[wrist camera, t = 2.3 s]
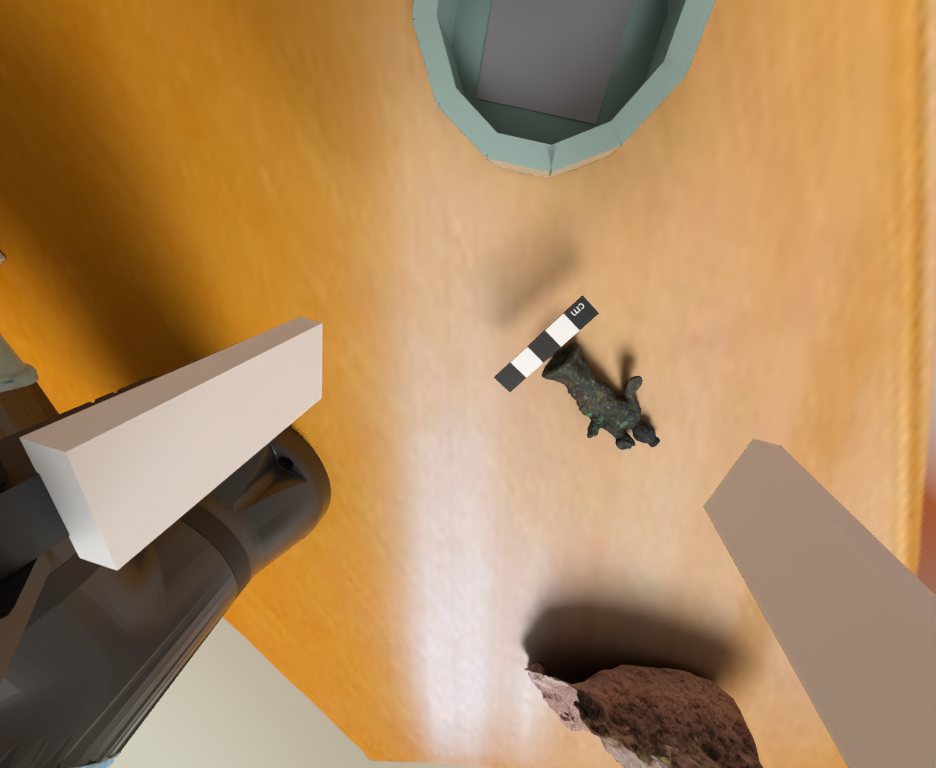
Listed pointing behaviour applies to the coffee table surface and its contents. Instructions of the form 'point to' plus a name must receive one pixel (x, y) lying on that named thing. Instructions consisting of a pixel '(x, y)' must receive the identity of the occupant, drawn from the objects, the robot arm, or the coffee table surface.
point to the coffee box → (1, 258)
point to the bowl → (554, 72)
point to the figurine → (581, 379)
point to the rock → (654, 717)
